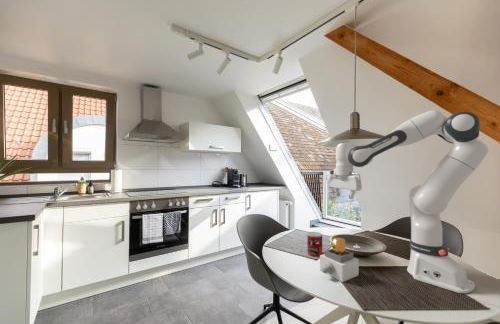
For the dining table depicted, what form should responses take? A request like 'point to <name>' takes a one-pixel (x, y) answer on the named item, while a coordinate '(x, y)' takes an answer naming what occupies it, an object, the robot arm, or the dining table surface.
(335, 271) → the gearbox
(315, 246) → the canned food
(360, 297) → the dining table surface
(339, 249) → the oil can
